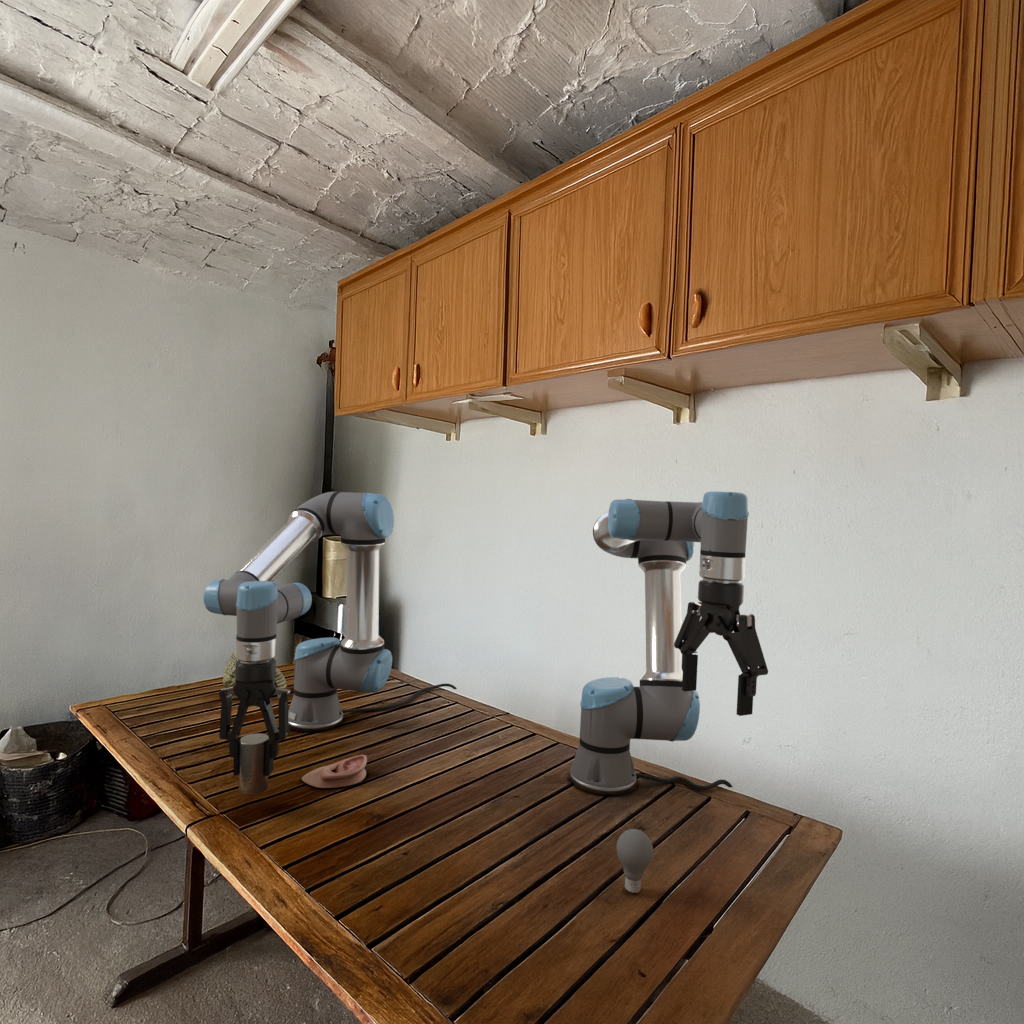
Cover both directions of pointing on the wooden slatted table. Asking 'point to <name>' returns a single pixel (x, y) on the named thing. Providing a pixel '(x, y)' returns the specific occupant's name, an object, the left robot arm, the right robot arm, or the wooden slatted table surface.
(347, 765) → the anatomical model
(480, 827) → the wooden slatted table surface
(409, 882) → the wooden slatted table surface
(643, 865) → the light bulb
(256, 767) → the can
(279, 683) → the fossil
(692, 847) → the wooden slatted table surface
